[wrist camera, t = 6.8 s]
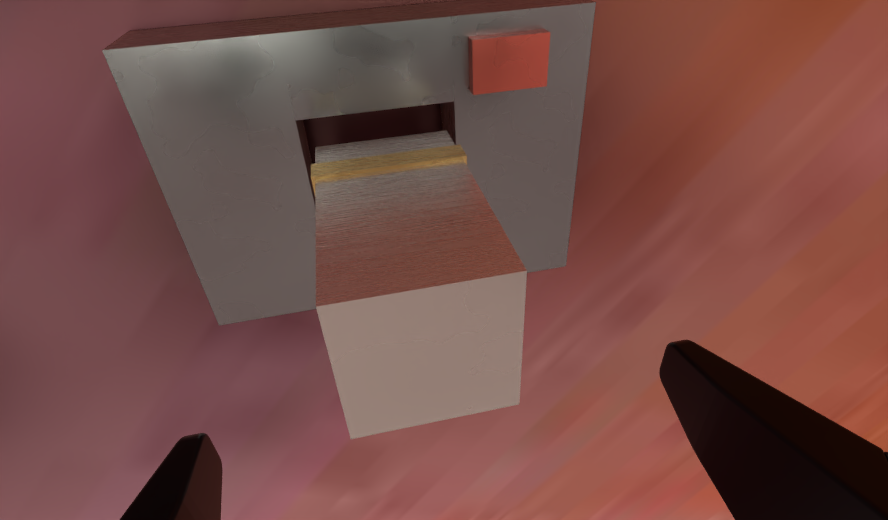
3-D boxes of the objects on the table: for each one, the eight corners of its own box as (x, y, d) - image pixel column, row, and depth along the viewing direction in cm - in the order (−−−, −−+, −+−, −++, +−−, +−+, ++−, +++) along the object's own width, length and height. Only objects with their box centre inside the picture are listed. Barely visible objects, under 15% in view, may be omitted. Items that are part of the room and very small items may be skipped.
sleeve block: (227, 285, 21) (217, 334, 19) (129, 30, 15) (95, 54, 13) (544, 234, 23) (570, 273, 21) (563, -10, 17) (603, 5, 15)
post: (336, 259, 17) (347, 442, 12) (310, 144, 15) (309, 303, 9) (454, 240, 18) (522, 406, 12) (449, 126, 16) (531, 265, 10)
